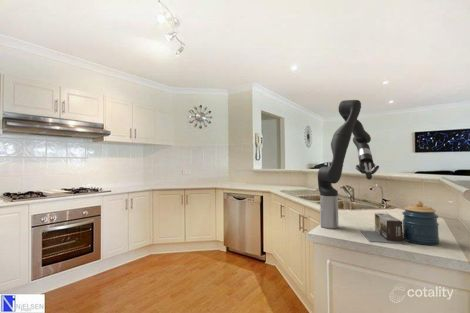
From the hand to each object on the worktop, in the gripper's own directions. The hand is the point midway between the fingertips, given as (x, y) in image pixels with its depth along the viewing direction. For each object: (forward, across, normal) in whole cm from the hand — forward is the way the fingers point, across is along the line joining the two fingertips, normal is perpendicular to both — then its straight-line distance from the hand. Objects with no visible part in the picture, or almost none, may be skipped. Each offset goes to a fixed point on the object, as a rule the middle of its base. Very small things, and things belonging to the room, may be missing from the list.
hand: (369, 178), depth 138 cm
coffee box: (+26, +2, +3) cm, 26 cm away
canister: (+37, +15, -2) cm, 40 cm away
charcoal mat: (+36, 0, -1) cm, 36 cm away
